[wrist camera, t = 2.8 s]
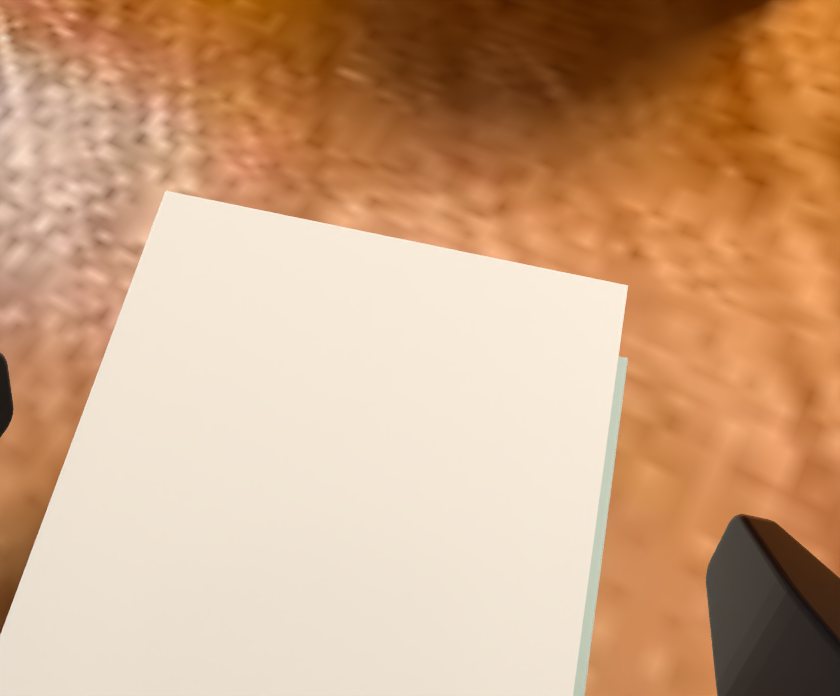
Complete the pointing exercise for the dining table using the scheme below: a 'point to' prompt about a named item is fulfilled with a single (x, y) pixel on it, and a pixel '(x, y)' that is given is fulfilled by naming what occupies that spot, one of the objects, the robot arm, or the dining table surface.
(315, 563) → the block
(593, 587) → the coaster
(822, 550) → the dining table surface
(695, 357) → the dining table surface
